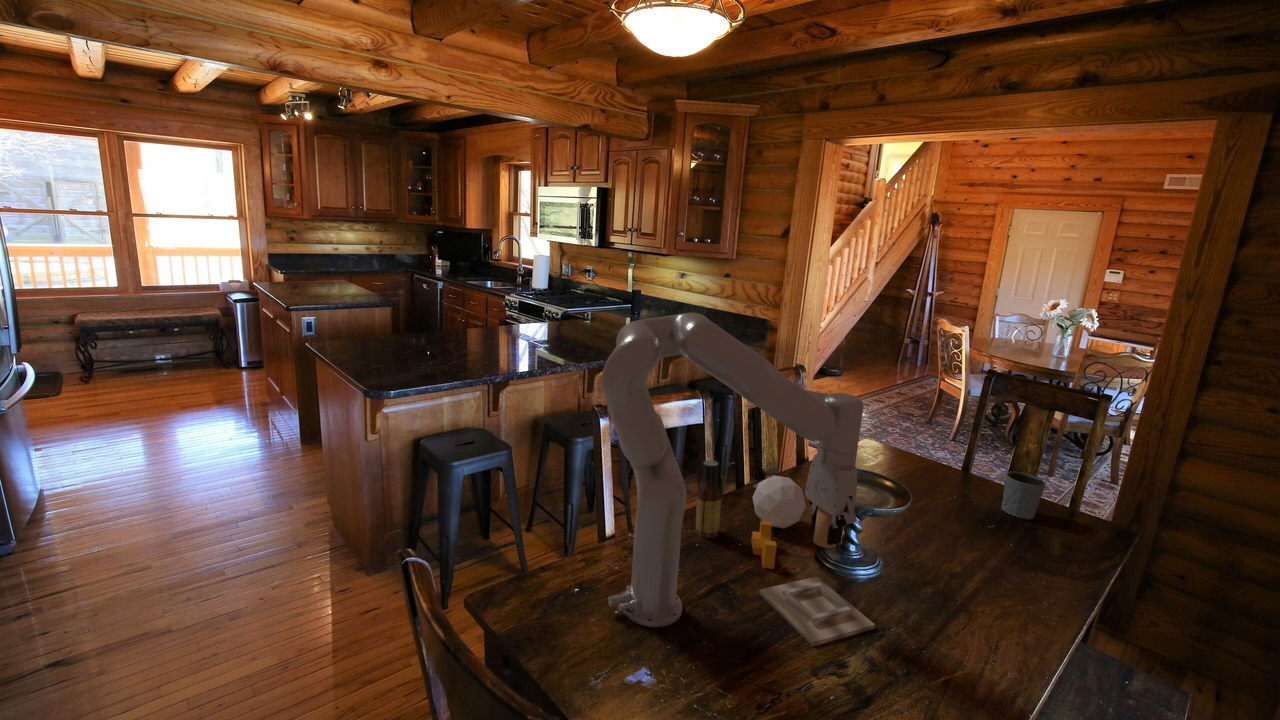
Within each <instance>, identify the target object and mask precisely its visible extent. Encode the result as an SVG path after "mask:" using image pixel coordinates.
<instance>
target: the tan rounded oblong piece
mask: <svg viewBox="0 0 1280 720" xmlns="http://www.w3.org/2000/svg"><path fill="white" fill-rule="evenodd" d="M838 520H840V515H839V516H838ZM829 526H832V518H831V514H829V513H827V512H826V511H824V510H823V509H821V508H820V507H818V509H817V517H816V524H815V531H814V533H813V540H812V541H813V543H814V544H815V545H817V546H819V547H822V548H825V549H831V548H835V547H836V546H837V544H834V545H829V544H827V538H828V531H829Z"/></svg>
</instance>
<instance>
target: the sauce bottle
mask: <svg viewBox="0 0 1280 720" xmlns="http://www.w3.org/2000/svg"><path fill="white" fill-rule="evenodd" d="M719 468H720V464H719V462H718V461H716V460H711V459H710V460H709V459H708V460H707V459H706V460H704V461H703V463H702V469H703V473H702V479H701V480H700V482H699V484H698V486H697V496H696V510H695V511H696V514H695V533H696V534H697V535H698V536H700V537H702V538H705V539H714V538H716V537H718V535H719V530H720V526H721V525H720V523H721V508H722V507H721V505H722V492H721V489H720V484H719V480H718V478H719V477H718V472H719Z"/></svg>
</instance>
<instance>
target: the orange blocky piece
mask: <svg viewBox="0 0 1280 720" xmlns="http://www.w3.org/2000/svg"><path fill="white" fill-rule="evenodd" d="M759 523H760V524H759V531H755V530H754V531H753V530H752V532H751V541H750V542H751V546H752V554H753V555H756V556H760V559H761V566H762V568H763V569H771V570H773V569H775V563H776V561H775V560H776V554H777V548H778V547H777V542H776V541H775V540H774V541H773V540H772V528H773V527H772V524H771V522H770V521H762V520H760V522H759Z"/></svg>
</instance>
